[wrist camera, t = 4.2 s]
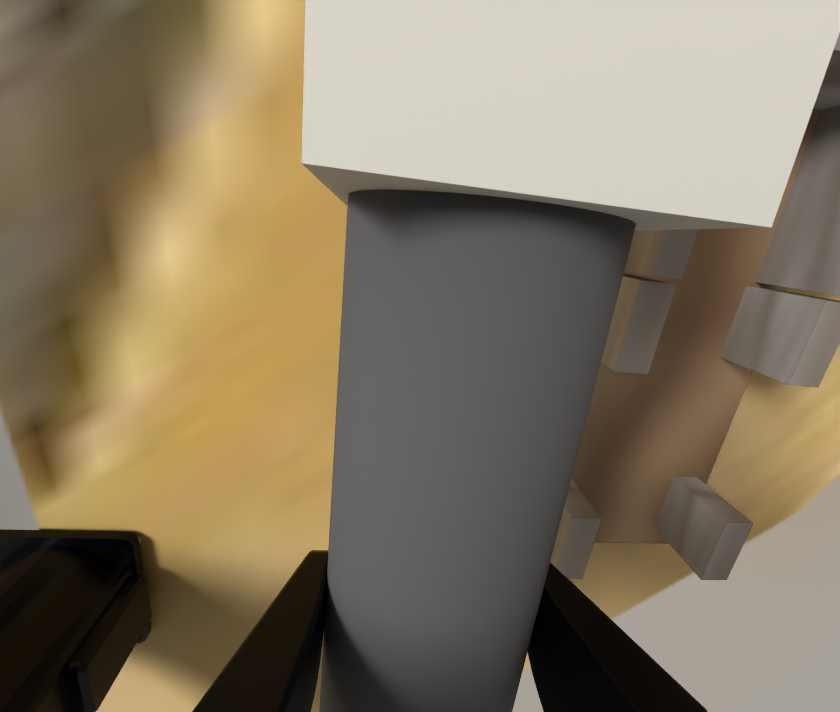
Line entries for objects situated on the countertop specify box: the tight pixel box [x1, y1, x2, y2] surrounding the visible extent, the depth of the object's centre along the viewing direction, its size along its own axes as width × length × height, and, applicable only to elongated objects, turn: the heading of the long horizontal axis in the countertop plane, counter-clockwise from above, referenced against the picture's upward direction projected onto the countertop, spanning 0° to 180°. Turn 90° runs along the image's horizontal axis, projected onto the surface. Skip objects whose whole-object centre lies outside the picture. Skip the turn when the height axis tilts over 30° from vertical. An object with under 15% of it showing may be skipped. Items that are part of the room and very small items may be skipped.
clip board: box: [550, 33, 840, 580], centre depth 15 cm, size 9×21×4 cm, turn 173°
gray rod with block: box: [302, 0, 840, 712], centre depth 7 cm, size 18×4×4 cm, turn 173°
